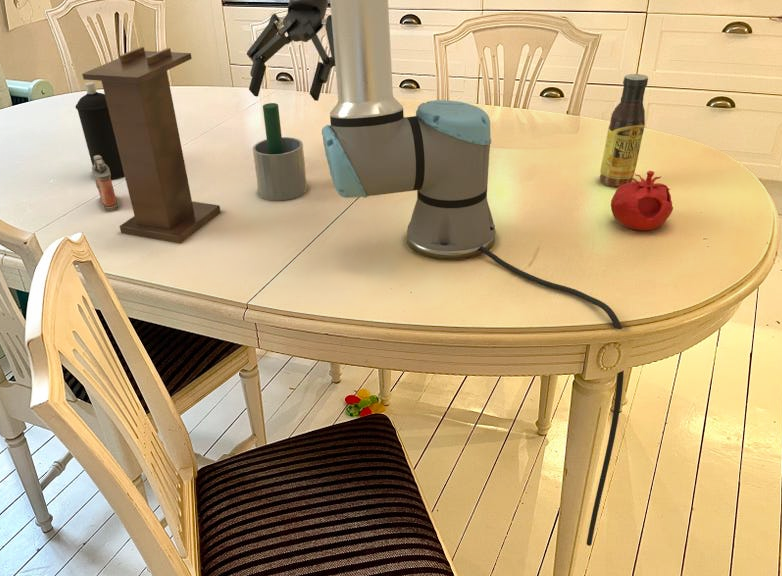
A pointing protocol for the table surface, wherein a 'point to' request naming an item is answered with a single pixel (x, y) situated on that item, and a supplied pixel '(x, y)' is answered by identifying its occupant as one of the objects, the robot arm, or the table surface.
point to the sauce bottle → (625, 133)
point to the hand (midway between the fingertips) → (282, 95)
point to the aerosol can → (99, 130)
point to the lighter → (104, 184)
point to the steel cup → (280, 170)
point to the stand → (151, 145)
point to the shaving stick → (273, 128)
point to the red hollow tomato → (642, 203)
